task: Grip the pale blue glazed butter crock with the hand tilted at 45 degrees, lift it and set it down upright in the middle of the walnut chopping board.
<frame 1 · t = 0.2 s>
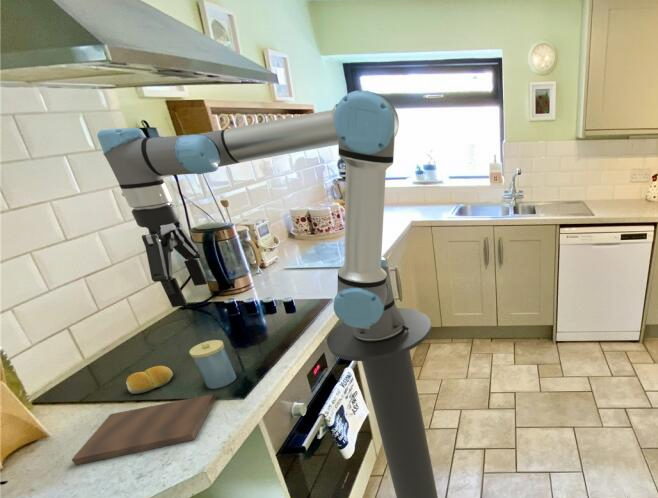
hand: (191, 294, 101), 20 cm above the worktop, tool pointing down, fingers open, 13 cm apart
butter crock: (221, 381, 103), on the worktop
board: (152, 429, 88), on the worktop
bread roll: (151, 384, 103), on the worktop
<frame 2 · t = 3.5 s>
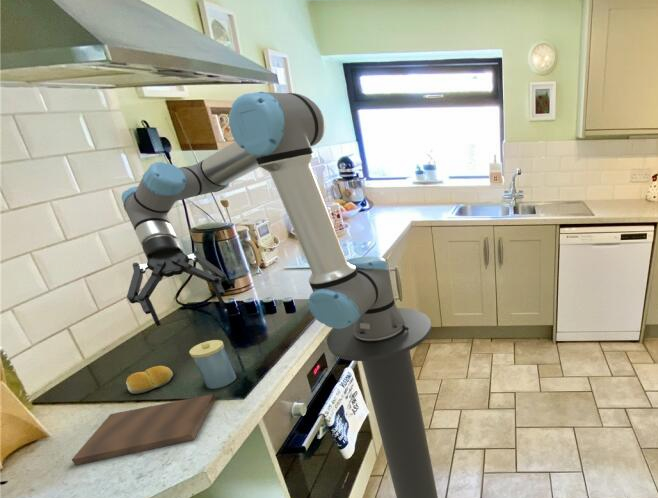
hand: (191, 314, 103), 15 cm above the worktop, tool tilted 45°, fingers open, 13 cm apart
nothing on the worktop moved.
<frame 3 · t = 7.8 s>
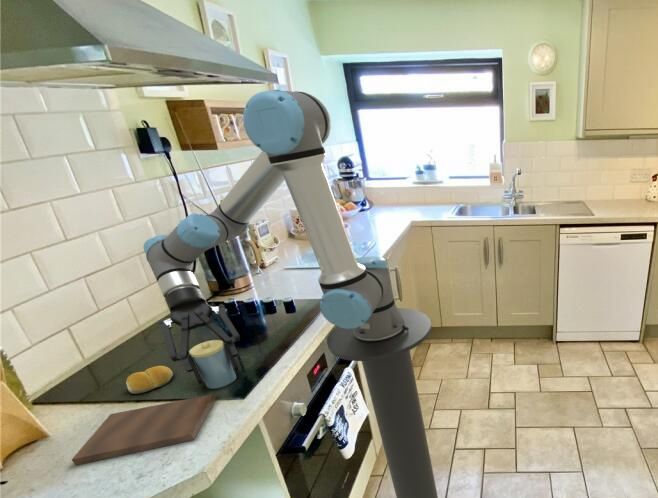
hand: (218, 375, 99), 3 cm above the worktop, tool tilted 45°, fingers closed on butter crock, 7 cm apart
butter crock: (221, 380, 103), on the worktop, touching gripper
everything else where it was.
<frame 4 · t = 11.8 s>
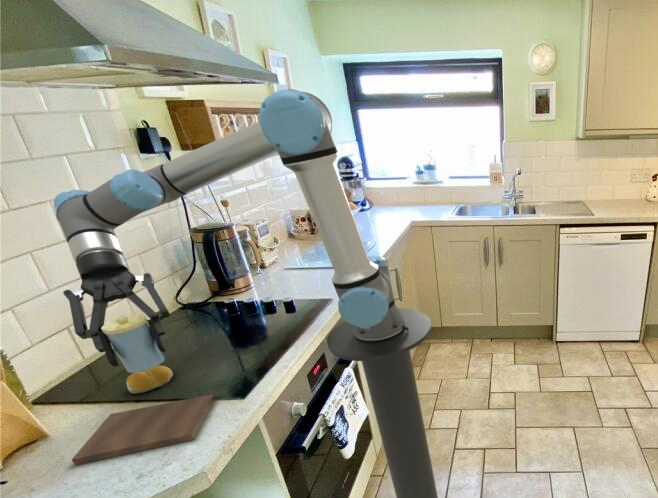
hand: (138, 356, 82), 17 cm above the worktop, tool tilted 45°, fingers closed on butter crock, 7 cm apart
butter crock: (146, 364, 86), point 13 cm above the worktop, touching gripper
everything else where it was.
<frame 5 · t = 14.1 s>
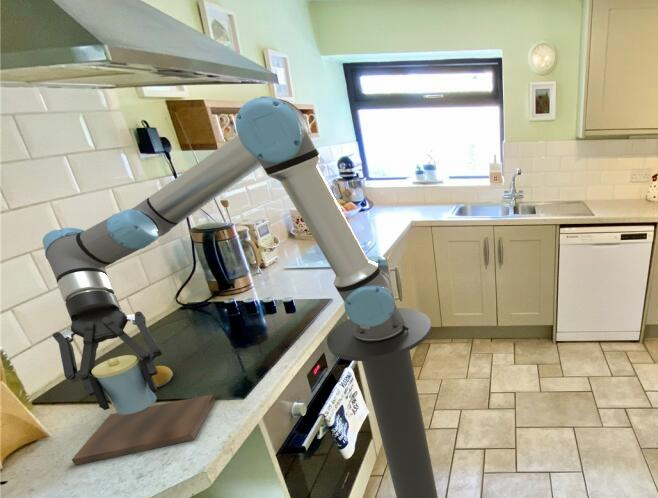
hand: (130, 398, 81), 10 cm above the worktop, tool tilted 45°, fingers closed on butter crock, 7 cm apart
butter crock: (137, 404, 85), point 7 cm above the worktop, touching gripper
everything else where it was.
when the fingers open (5 cm above the worktop, at t = 15.9 s): butter crock stays where it is, resting on board.
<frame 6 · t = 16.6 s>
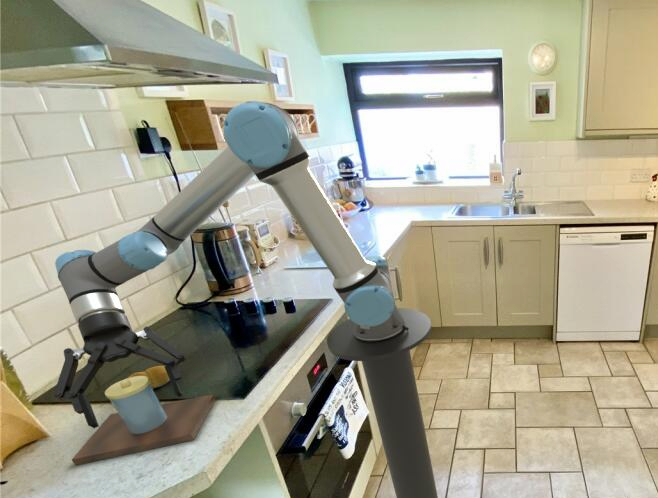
hand: (138, 409, 83), 7 cm above the worktop, tool tilted 45°, fingers open, 13 cm apart
butter crock: (149, 423, 87), point 1 cm above the worktop, touching board
everything else where it was.
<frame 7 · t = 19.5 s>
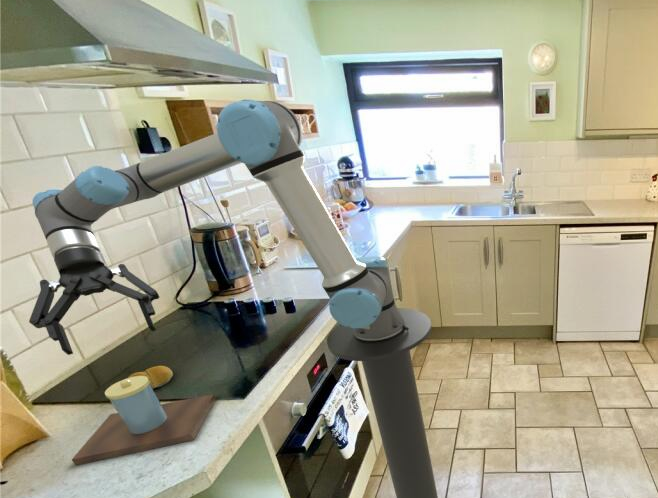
hand: (112, 339, 87), 18 cm above the worktop, tool tilted 45°, fingers open, 13 cm apart
nothing on the worktop moved.
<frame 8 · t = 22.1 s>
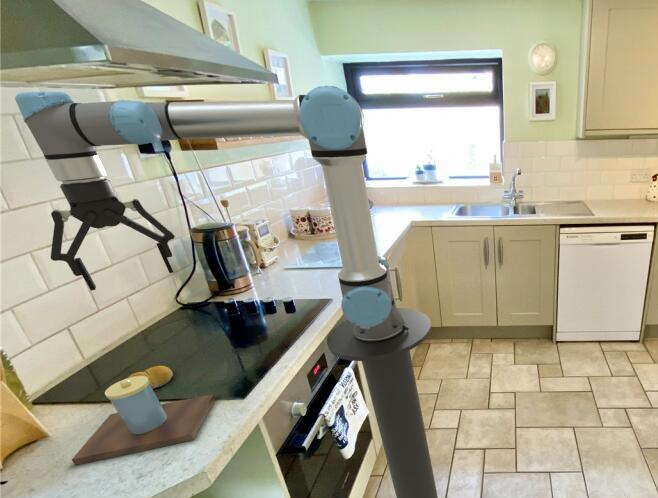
hand: (133, 279, 93), 27 cm above the worktop, tool pointing down, fingers open, 13 cm apart
nothing on the worktop moved.
at the end: butter crock inside the target area on the board (0.1 cm from its centre), point 1.5 cm above the board's base; butter crock tilted 0°; the gripper is holding nothing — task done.
